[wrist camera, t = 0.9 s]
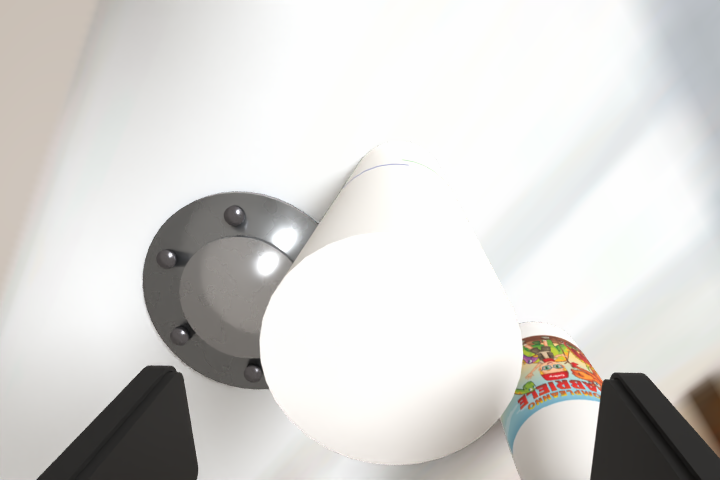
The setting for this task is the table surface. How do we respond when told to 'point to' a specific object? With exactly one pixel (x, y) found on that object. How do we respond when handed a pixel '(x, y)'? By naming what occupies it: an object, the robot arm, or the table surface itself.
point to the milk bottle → (552, 407)
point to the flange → (221, 279)
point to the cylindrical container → (392, 320)
